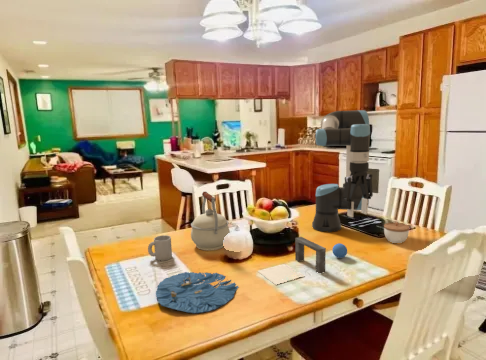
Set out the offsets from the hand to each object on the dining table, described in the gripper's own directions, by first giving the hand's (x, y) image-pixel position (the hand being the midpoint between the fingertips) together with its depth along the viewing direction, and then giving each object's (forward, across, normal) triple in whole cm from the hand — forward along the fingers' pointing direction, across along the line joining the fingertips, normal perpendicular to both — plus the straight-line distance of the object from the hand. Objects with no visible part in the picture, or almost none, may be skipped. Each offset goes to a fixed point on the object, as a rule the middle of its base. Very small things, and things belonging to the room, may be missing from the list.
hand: (357, 214), depth 145 cm
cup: (+17, -76, +40) cm, 87 cm away
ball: (+14, -10, 0) cm, 17 cm away
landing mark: (+17, -40, 0) cm, 43 cm away
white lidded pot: (+17, +26, 0) cm, 31 cm away
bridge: (+17, -26, 0) cm, 31 cm away
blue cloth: (+18, -72, +5) cm, 75 cm away
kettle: (+17, -50, +44) cm, 69 cm away
